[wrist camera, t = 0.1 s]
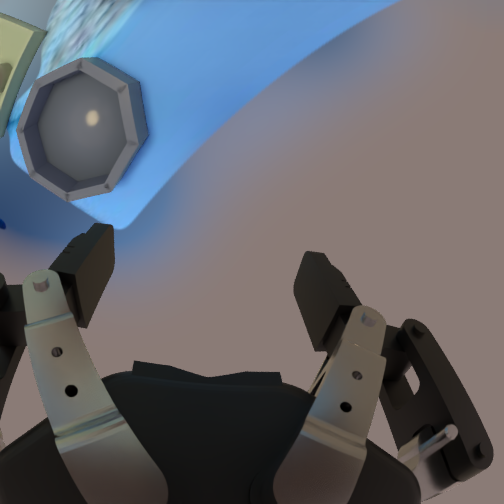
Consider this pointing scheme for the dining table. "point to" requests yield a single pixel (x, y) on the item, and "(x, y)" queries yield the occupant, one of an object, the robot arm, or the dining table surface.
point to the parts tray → (16, 59)
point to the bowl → (82, 128)
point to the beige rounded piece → (4, 75)
